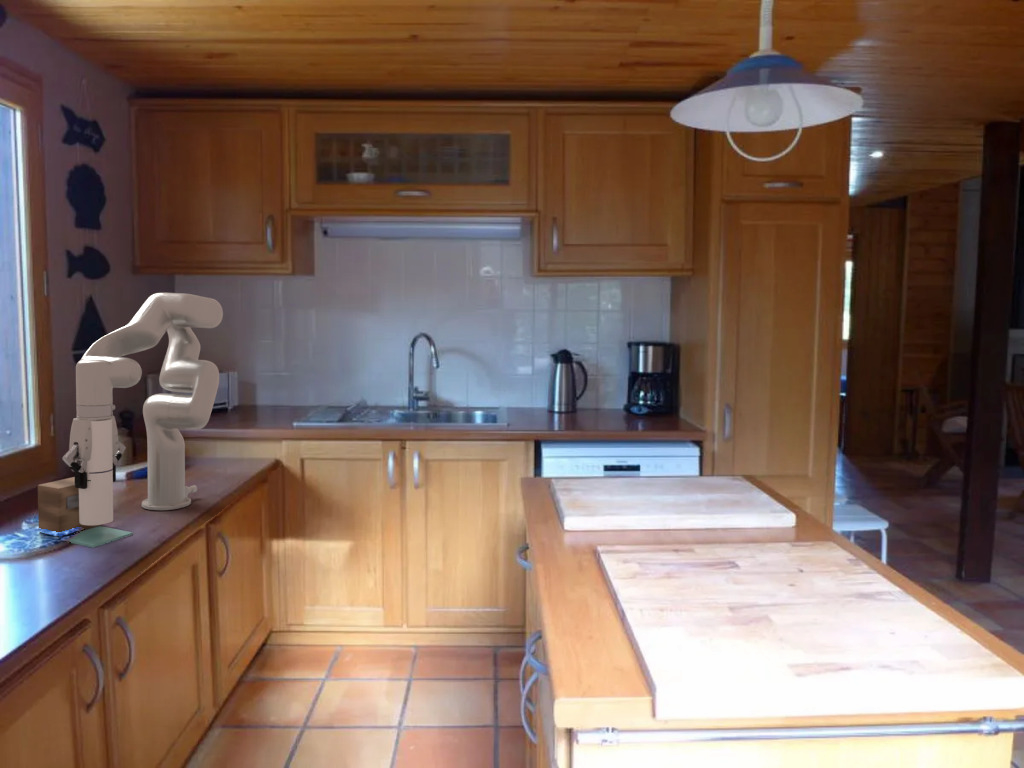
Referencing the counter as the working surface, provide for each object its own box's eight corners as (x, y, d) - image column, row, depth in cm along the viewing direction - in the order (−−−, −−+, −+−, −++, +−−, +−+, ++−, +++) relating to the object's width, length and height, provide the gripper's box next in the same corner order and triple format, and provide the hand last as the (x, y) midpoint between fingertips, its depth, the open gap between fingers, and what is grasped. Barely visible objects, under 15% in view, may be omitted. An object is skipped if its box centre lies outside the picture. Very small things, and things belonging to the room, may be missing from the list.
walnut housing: (81, 520, 191) (80, 474, 190) (104, 524, 189) (103, 478, 187) (37, 532, 180) (35, 484, 179) (60, 537, 177) (59, 488, 176)
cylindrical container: (111, 524, 176) (109, 420, 174) (77, 526, 174) (75, 421, 171) (115, 515, 183) (113, 416, 180) (82, 517, 180) (80, 416, 178)
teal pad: (100, 528, 186) (100, 525, 186) (132, 534, 182) (132, 532, 182) (59, 540, 175) (59, 538, 175) (93, 547, 172) (93, 545, 172)
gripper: (114, 406, 185) (115, 475, 187) (49, 414, 169) (50, 490, 170) (137, 408, 182) (137, 479, 184) (72, 417, 166) (74, 494, 168)
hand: (95, 484), depth 177 cm, fingers closed on cylindrical container, 7 cm apart
